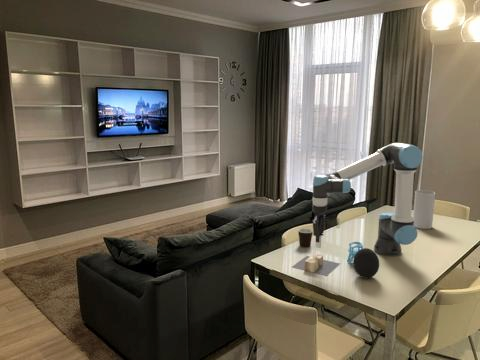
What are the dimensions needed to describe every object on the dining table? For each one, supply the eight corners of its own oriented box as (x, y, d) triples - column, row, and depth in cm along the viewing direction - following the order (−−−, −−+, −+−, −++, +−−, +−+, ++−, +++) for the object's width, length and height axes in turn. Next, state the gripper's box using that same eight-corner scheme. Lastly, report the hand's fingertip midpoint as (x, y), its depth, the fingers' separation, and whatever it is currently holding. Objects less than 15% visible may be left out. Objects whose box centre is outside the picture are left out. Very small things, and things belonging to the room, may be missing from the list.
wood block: (323, 255, 209) (313, 263, 200) (322, 264, 210) (313, 272, 200) (314, 253, 212) (304, 261, 202) (314, 262, 213) (304, 270, 203)
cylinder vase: (433, 225, 276) (436, 191, 271) (430, 230, 266) (434, 195, 261) (414, 223, 283) (416, 189, 278) (411, 227, 272) (413, 192, 268)
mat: (340, 264, 211) (340, 263, 211) (326, 277, 196) (326, 276, 196) (306, 256, 223) (306, 255, 222) (291, 268, 207) (291, 267, 207)
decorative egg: (382, 282, 190) (384, 253, 187) (358, 283, 189) (359, 254, 186) (372, 271, 202) (373, 244, 200) (349, 272, 201) (350, 245, 199)
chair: (345, 260, 217) (346, 240, 214) (360, 260, 216) (361, 240, 214) (349, 266, 209) (349, 245, 207) (364, 266, 209) (365, 245, 207)
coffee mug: (308, 249, 233) (309, 233, 231) (295, 247, 237) (296, 231, 235) (316, 244, 242) (316, 228, 241) (303, 241, 247) (303, 226, 245)
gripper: (318, 201, 212) (316, 242, 217) (307, 206, 202) (306, 249, 206) (331, 203, 208) (329, 245, 212) (321, 208, 197) (319, 252, 202)
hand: (318, 247), depth 209 cm, fingers closed
